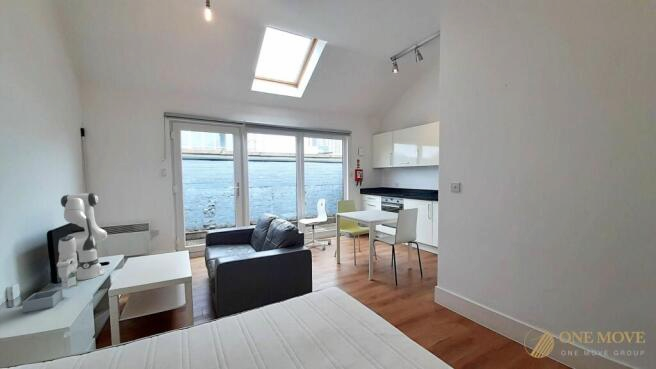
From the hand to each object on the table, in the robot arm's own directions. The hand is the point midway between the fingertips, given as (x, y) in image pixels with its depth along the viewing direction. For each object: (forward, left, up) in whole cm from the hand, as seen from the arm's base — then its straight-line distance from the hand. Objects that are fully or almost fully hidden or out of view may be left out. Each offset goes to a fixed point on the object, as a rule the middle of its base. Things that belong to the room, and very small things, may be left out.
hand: (69, 278), depth 178 cm
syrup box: (0, 0, -7) cm, 6 cm away
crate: (+10, -10, -12) cm, 19 cm away
